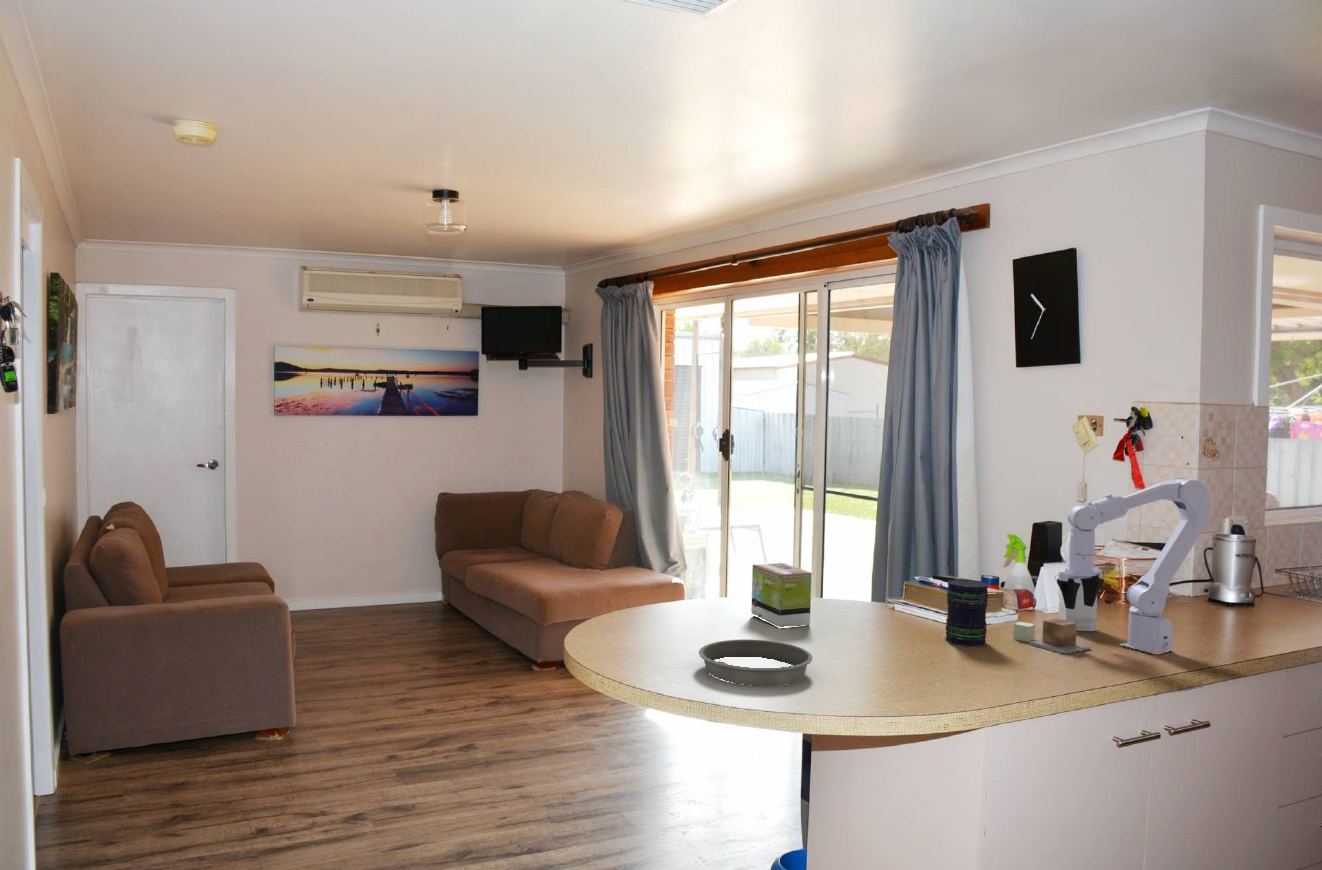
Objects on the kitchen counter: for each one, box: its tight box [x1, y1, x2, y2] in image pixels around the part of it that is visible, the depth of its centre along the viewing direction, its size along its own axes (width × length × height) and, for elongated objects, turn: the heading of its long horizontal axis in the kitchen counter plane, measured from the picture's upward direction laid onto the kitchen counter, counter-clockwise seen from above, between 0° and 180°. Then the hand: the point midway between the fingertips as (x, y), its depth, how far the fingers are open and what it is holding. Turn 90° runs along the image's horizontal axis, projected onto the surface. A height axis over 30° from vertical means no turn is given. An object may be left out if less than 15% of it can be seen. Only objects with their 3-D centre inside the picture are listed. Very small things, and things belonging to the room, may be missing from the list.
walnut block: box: [1041, 618, 1077, 648], centre depth 236 cm, size 6×6×6 cm
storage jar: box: [945, 578, 989, 648], centre depth 238 cm, size 10×10×15 cm
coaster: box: [1029, 639, 1092, 655], centre depth 236 cm, size 10×10×1 cm
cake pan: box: [698, 638, 813, 687], centre depth 206 cm, size 25×25×4 cm
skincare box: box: [1058, 569, 1098, 632], centre depth 256 cm, size 8×7×16 cm
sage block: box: [1012, 621, 1036, 643], centre depth 243 cm, size 4×4×4 cm
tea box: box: [750, 562, 812, 627], centre depth 255 cm, size 15×10×15 cm, turn 25°
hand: (1079, 607), depth 239 cm, fingers open, 7 cm apart
